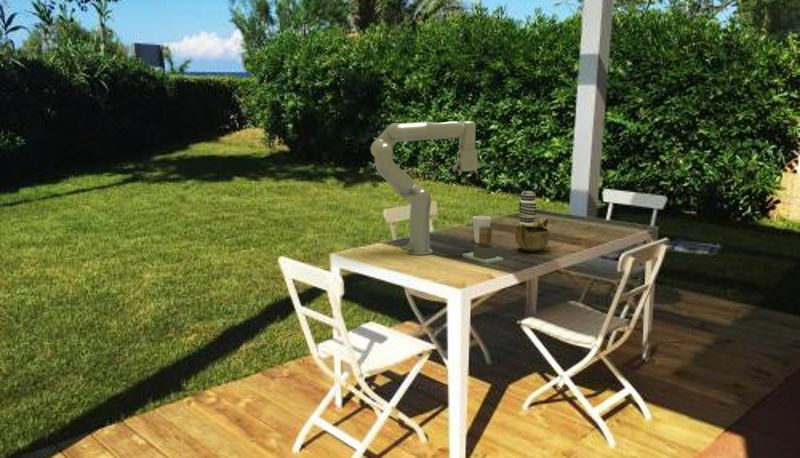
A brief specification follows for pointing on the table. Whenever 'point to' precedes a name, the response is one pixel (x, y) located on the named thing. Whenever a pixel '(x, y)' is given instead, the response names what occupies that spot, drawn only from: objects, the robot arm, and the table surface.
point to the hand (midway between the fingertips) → (466, 182)
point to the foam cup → (480, 225)
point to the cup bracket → (484, 254)
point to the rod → (485, 236)
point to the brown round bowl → (532, 236)
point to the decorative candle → (527, 208)
